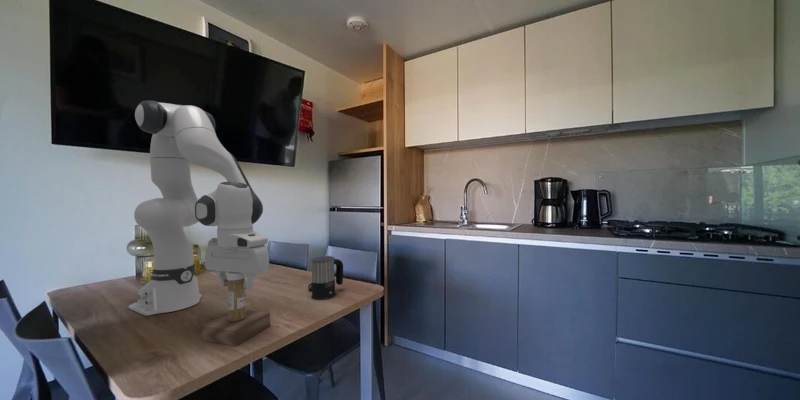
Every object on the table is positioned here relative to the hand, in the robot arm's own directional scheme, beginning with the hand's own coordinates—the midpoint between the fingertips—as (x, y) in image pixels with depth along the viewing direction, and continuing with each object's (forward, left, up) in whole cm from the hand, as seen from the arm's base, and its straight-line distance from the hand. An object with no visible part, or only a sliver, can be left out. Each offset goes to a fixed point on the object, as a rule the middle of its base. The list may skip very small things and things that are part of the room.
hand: (236, 287), depth 81 cm
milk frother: (+4, +36, -13) cm, 39 cm away
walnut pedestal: (0, 0, -13) cm, 13 cm away
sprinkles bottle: (0, 0, -9) cm, 9 cm away
